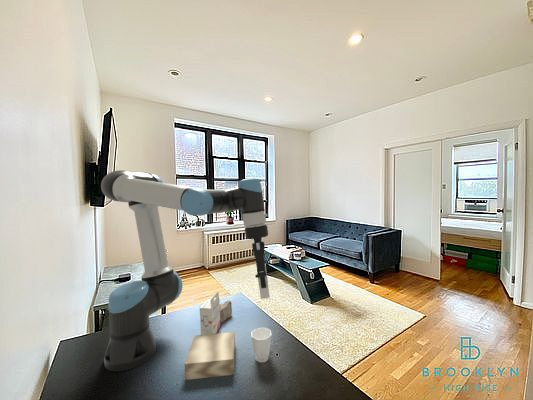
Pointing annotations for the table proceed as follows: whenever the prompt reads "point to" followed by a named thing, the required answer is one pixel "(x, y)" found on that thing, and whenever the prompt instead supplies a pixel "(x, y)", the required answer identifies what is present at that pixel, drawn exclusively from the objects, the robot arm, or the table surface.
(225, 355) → the maple block
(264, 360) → the cup
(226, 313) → the mineral specimen
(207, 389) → the table surface
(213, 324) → the ink cartridge box
